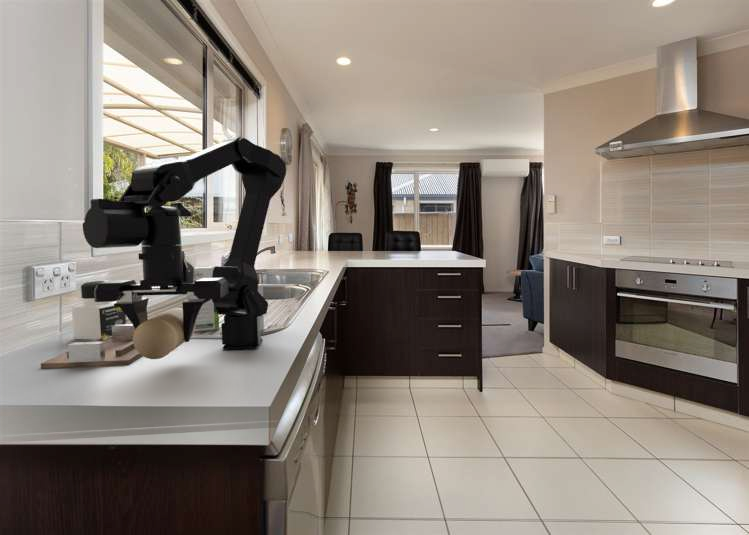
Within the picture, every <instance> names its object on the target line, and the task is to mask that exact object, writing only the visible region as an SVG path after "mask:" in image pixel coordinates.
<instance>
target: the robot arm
mask: <svg viewBox="0 0 749 535" xmlns="http://www.w3.org/2000/svg"><path fill="white" fill-rule="evenodd" d="M230 165H231V166H232V168H233V169H234V171H235V172H237V173H238V174H241V183H242V186H243V189H244V193H245V194H244V198H243V202H242V206H241V210H240V213H239V217H238V221H237V225H236V229H235V231H234V232H235V233H234V237H233V240H232V245H231V248H230V252H229V257H228V259H227V260H226V262H225V263H224V264H223V266H219V265H214V266H215V267H214V269H213V274H212V278H202V279H199V280H196V281H195V283H193V279H194V267H195V266H194V265H192V264H191V263H190V262H187V260H186V255H185V250H183V248H182V231H181V230H182V229H181V228H182V227H181V218H191V217H192V215H193V214H192V212H191V211H190V210H189V209H188V208H186V207H185V206H184V205H183V203H182V202H180V200H181V199H182V198H184V197H185V196H186V195H187V194H188V193H189V192H191V191H192V190H193V189H194V187H195V184H196V183H198V182H199V181H200V180H202V179H204V178H206V177H208V176H210V175H213V174H214V173H217V172H218V171H220V170H223V169H224V168H226V167H229V166H230ZM286 175H287V166H286V163H285V161H284V160H283V158H282V157H281V156H280V155H279V154H278V153H274V152H273V151H272V150H270V149H267V148H264V147H262V146H259V145H257V144H255V143H252V142H251V141H250V139H247V138H244V137H242V136H238V137H233V138H227V139H225V138H224V139H223V140H222V141H221V142H219V143H217V144H214V145H212V146H209V147H207V148H205V149H202V150H200V151H198V152H195V153H193V154H190V155H188V156H186V157H183V158H181V159H179V160H175V161H168V162H163V163H157V164H156V163H155V164H149V165H144V166H140V167H139V166H138V167H137V168H136V169H134V170H133V171H132V172H131V178H130V183H129V184H128V186H127V188H126V189H125V190H124V192H123V193H122V195H121V196H120V198H119V199H118V200H112V199H108V198H93V199H91V200H90V208H89V209H88V210H87V211H86V214H85V216H84V222H82V233H83V235H84V238H85V241H86V242H87V244H88V245H89V246H90V247H92V248H93V249H104V248H105V249H107V248H130V247H132V248H133V247H138V246H139V245H140V244H141V252H138V260H139V261H140V260H141V261H142V262H141V263H142V277H143V278H142V279H140V280H139V283H137V282H136V280H135V279H115V280H114V279H112V280H106V281H107V282H103V283H98V285H97V286H96V287H95V290H94V300H95V302H115V301H116V303H114V307H120V308H121V309H122V311H123V312H124V313H125V315H126V318H127V319H128V320H129V321H130V324H133V326H134V327H135V329H136V328H137V327H138V326H139V325H140V324H141V323H143V322H145V321H147V320H149V319H148V310H147V308H148V303H149V297H145V296H173V295H175V296H177V295H187V299H186V300H184V301H182V309H183V330H184V339H185V342H184V343H189V342H190V340H191V337H192V336H193V335H192V331H193V328H194V325H195V321H196V318H197V315H198V313H199V311H200V309H201V307H202V305H203V304H204V303H206V302H207V301H209V300H211V299H212V302H213V303H214V305H215V308H216V311H217V314H218V315H219V316H220V315H224V316H223V322H222V323H221V344H222V345H223V346H222V350H226V351H227V350H240V349H241V350H245V349H248V350H249V349H258V348H259V346H260V345H261V344H262V342H263V338H262V336H261V334H262V333H261V331H260V316H262V315H267V313H268V312H267V311H268V307H269V302H268V301H267V299H265V297H264V296H263V297H262V295H261V294H260V293H259V292H258V284H259V283H260V282H259V277H258V273H257V271H256V268H255V264H256V260H257V255H258V252H259V247H260V244H261V240H262V236H263V235H262V234H263V230H264V227H265V223H266V219H267V214H268V211H269V207H270V202H271V199H273V197H274V196H275V195H276V194H277V193H278V192H279V191H280V190H281V188H282V186H283V182H284V180H285V178H286ZM176 201H178V202H176ZM169 202H170V205H169V206H164V205H166V204H168V203H169ZM147 208H150V209H149V210H148V211H145V210H146V209H147ZM143 296H144V297H143ZM191 335H192V336H191Z"/></svg>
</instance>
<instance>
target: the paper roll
mask: <svg viewBox="0 0 749 535" xmlns="http://www.w3.org/2000/svg"><path fill="white" fill-rule="evenodd" d="M195 327H196V324H195V325H194V328H193V331H192V335H191V337H193V335H194V333H195V332H194V331H195ZM184 343H186V342H185V339H184V330H183V308H181V307H180V308H179V307H175V308H170V309H168V310H166V311H164V312H162V313H160V314H158V315H156V316H153V317H151V318H149V319H148V320H147V321H145V322H143V323H141V324H140V325H139V326H138V327H137V328H136V330H135V332H134V335H133V344H134V347H135V349H136V350H137V352H138V353H139V354H141V355H142V357H144V358H145V359H149V360H159V359H162V358H164V357H166V356H168V355H169V354H170V353H172V352H173V351H175V350H177V348H178V347H180V346H181V345H183V344H184Z"/></svg>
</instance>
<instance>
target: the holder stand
mask: <svg viewBox="0 0 749 535" xmlns="http://www.w3.org/2000/svg"><path fill="white" fill-rule="evenodd" d="M135 330H136V329H135V327H134V326H133V324H132V323H126V324H118V325H113V326H112V337H111V338H108V339H104V340H103V338H97V339H95V340H89V341H83V342H81V341H80V342H71V343H69V344H67V348H68V349H67V350H68V351H65V352H63V353H61V354H59V355H56V356H54V357H53V358H50V359H48V360H45V361H43V362H41V363H40V369H56V368H58V369H59V368H60V369H61V368H76V367H77V368H80V367H81V368H83V367H104V366H106V367H107V366H126V365H127V366H130V365H131V364H132V363H134V362H135V361H137V360H139V359H140V358H142V357H143V356H142V355H141V354H139V353H138V352H137V350H136V349H135V347H134V344H133V335H134V332H135Z"/></svg>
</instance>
